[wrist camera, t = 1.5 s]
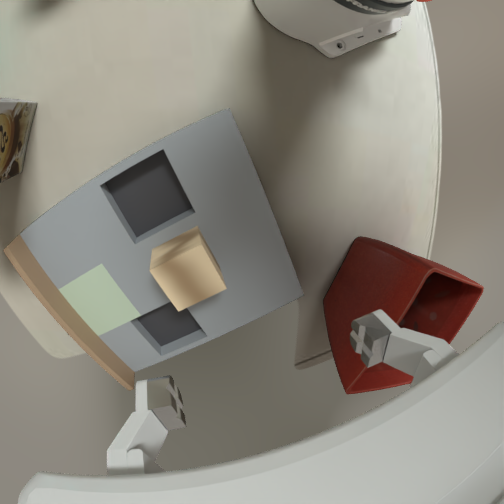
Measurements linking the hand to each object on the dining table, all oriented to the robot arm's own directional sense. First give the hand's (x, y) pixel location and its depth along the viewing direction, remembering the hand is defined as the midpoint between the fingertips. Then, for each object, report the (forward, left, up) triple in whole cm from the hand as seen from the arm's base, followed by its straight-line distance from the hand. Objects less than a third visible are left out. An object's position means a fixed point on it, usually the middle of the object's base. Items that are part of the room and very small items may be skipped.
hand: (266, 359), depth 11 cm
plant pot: (-18, +24, -26) cm, 39 cm away
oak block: (+5, +5, -23) cm, 24 cm away
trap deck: (+9, +5, -25) cm, 27 cm away
